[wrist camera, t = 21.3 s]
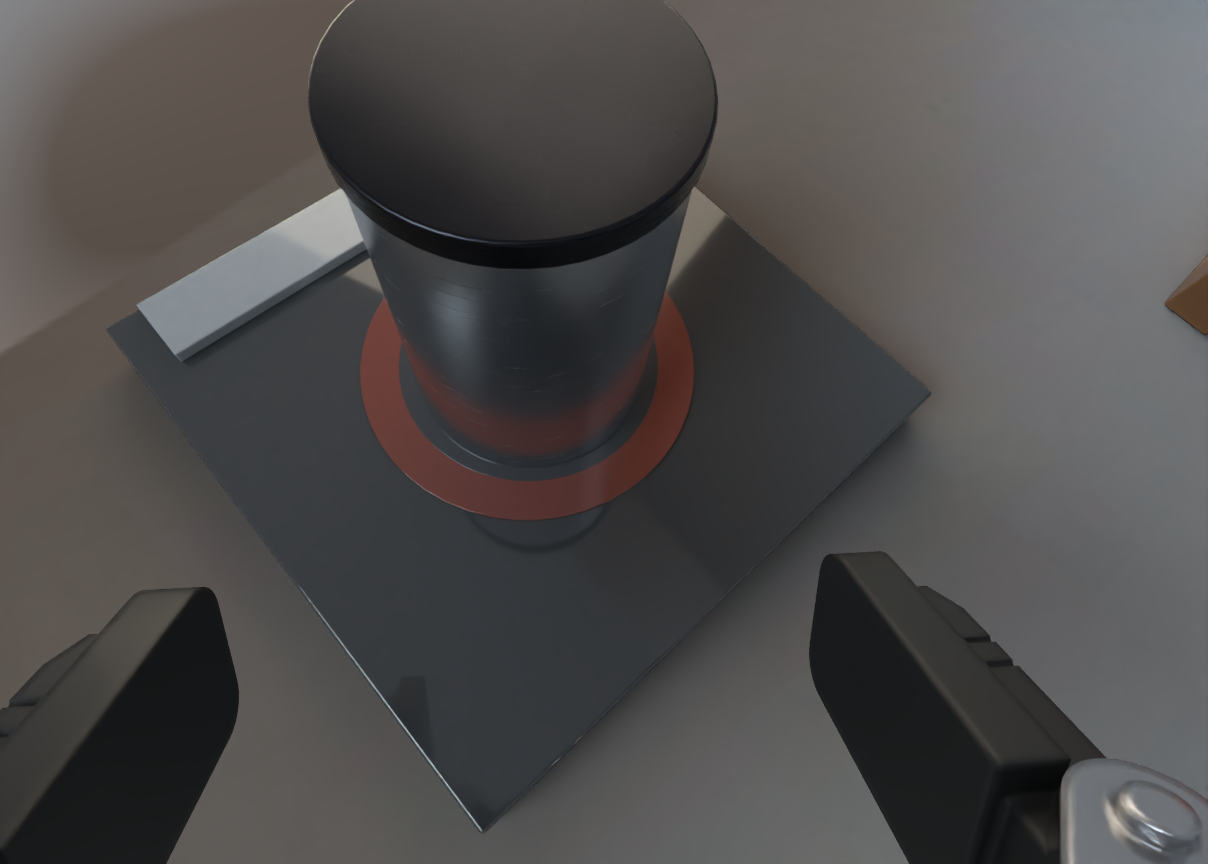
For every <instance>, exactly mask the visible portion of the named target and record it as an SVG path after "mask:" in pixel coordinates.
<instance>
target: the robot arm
mask: <svg viewBox="0 0 1208 864" xmlns="http://www.w3.org/2000/svg"><path fill="white" fill-rule="evenodd" d="M809 658H810V668H811V673H812V677H813V681H814V684H815V687H816V690H817V692H818V694H819V696H820V698H821V700H822V702H823V704H824V706H825V708H826V709H827V711H828V713H829V715H830V717H831V719H832V721H833V722H834V724H835V726H836V728H837V730H838V732H839V734H840V735H841V737H842V739H843V741H844V743H845V745H846V747H847V748H848V750H849V752H850V754H851V756H852V758H853V760H854V762H855V763H856V765H857V767H858V769H859V771H860V773H861V775H862V776H863V778H864V780H865V782H866V784H867V786H868V788H869V789H870V791H871V793H872V795H873V797H874V799H875V801H876V802H877V804H878V806H879V808H880V810H881V812H882V814H883V816H884V817H885V819H886V821H887V823H888V825H889V827H890V829H891V830H892V832H893V834H894V836H895V838H896V840H897V842H898V843H899V845H900V847H901V849H902V851H903V853H904V855H905V857H906V858H907V860H908V862H909V864H1208V800H1207V799H1205V798H1204V797H1203V796H1201V795H1200V794H1198V793H1197V792H1195V791H1194V790H1192V789H1191V788H1189V787H1187V786H1186V785H1184V784H1182V783H1181V782H1179V781H1177V780H1175V779H1173V778H1171V777H1169V776H1167V775H1165V774H1163V773H1160V772H1158V771H1155V770H1153V769H1150V768H1148V767H1145V766H1142V765H1138V764H1135V763H1132V762H1127V761H1122V760H1117V759H1107V758H1106V757H1105V756H1104V755H1103V754H1102V753H1101V752H1100V751H1099V750H1098V749H1097V748H1096V747H1095V745H1094V744H1093V743H1092V742H1091V741H1090V740H1089V739H1088V738H1087V737H1086V736H1085V735H1084V734H1083V733H1082V732H1081V731H1080V730H1079V729H1078V728H1077V727H1076V726H1075V725H1074V724H1073V722H1072V721H1071V720H1070V719H1069V718H1068V717H1067V716H1066V715H1065V714H1064V713H1063V712H1062V711H1061V710H1060V709H1059V708H1058V707H1057V706H1056V705H1055V704H1054V703H1053V702H1052V700H1051V699H1050V698H1049V697H1048V696H1047V695H1046V694H1045V693H1044V692H1043V691H1042V690H1041V689H1040V688H1039V687H1038V686H1037V685H1036V684H1035V683H1034V682H1033V681H1032V680H1031V679H1030V677H1029V676H1028V675H1027V674H1026V673H1025V672H1024V671H1023V670H1022V669H1021V668H1020V667H1019V666H1014V665H1013V662H1012V659H1011V658H1010V657H1009V655H1008V654H1007V653H1006V652H1005V651H1004V650H1003V649H1002V648H1001V647H1000V646H999V645H998V644H997V643H996V642H991V640H990V636H989V635H988V633H987V632H986V631H985V630H984V629H983V628H982V627H981V626H980V625H979V624H978V623H977V622H976V621H975V620H974V619H973V618H972V617H971V616H970V615H969V614H968V613H967V612H966V610H965V609H964V608H962V607H960V606H959V605H957V604H956V603H954V602H952V601H951V600H949V599H947V598H946V597H944V596H942V595H941V594H939V593H937V592H936V591H934V590H932V589H931V588H929V587H928V586H916V585H915V584H914V583H913V581H912V580H911V579H910V578H909V577H908V576H907V575H906V574H905V573H904V571H903V570H902V569H901V568H900V567H899V566H898V565H897V564H896V562H895V561H894V560H893V559H892V558H891V557H890V556H889V555H888V554H886V553H885V552H881V551H879V552H861V553H843V554H829V555H827V556H826V557H825V558H824V559H823V561H822V564H821V568H820V574H819V581H818V588H817V595H816V602H815V610H814V617H813V624H812V631H811V638H810V647H809ZM9 702H10V704H9V707H8V708H2V709H1V710H0V864H166V863H167V861H168V859H169V857H170V855H171V853H172V851H173V849H174V847H175V845H176V843H177V841H178V839H179V837H180V835H181V833H182V831H183V829H184V827H185V825H186V823H187V821H188V819H189V817H190V815H191V813H192V812H193V810H194V808H195V806H196V804H197V802H198V800H199V798H200V796H201V794H202V792H203V790H204V788H205V786H206V784H207V782H208V780H209V778H210V776H211V774H212V772H213V770H214V768H215V766H216V764H217V762H218V760H219V758H220V756H221V754H222V752H223V750H224V748H225V746H226V744H227V742H228V740H229V739H230V736H231V734H232V732H233V729H234V726H235V722H236V718H237V713H238V704H239V689H238V682H237V678H236V674H235V669H234V665H233V661H232V657H231V653H230V649H229V645H228V641H227V637H226V633H225V629H224V625H223V621H222V617H221V613H220V609H219V605H218V601H217V598H216V596H215V594H214V593H213V591H212V590H210V589H209V588H207V587H195V588H176V589H158V590H142V591H139V592H137V593H136V594H134V595H133V596H132V597H131V598H130V599H129V600H128V601H127V603H126V604H125V605H124V606H123V607H122V608H121V609H120V610H119V612H118V613H117V614H116V615H115V616H114V617H113V618H112V619H111V621H110V622H109V623H108V624H107V625H106V626H105V627H104V628H103V630H102V631H101V632H100V633H99V634H90V635H88V636H86V637H85V638H83V639H82V640H80V641H79V642H77V643H75V644H74V645H72V646H71V647H69V648H68V649H66V650H65V651H63V652H62V653H60V654H59V655H57V656H56V657H54V658H53V659H51V660H50V661H48V662H47V663H45V664H44V665H42V667H41V668H40V669H39V670H38V671H37V672H36V673H35V674H34V675H33V676H32V677H31V678H30V679H29V680H28V681H27V682H26V683H25V685H24V686H23V687H22V688H21V689H20V690H19V691H18V692H17V693H16V694H15V695H14V696H13V697H12V698H11V699H10V700H9Z"/></svg>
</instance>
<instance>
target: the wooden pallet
mask: <svg viewBox="0 0 1208 864" xmlns="http://www.w3.org/2000/svg"><path fill="white" fill-rule="evenodd" d="M1165 305H1166V306H1167V307H1168V308H1170V309H1171V310H1172V311H1174V312H1175V313H1176V314H1178V315H1179V316H1180V317H1181V318H1183V319H1184V320H1185V321H1187V322H1188V323H1189V324H1191V325H1192V326H1193V327H1195V328H1196V329H1197V330H1199V331H1200V332H1201V333H1203V334H1204V335H1207V334H1208V256H1207V257H1206V258H1205V259H1204V260H1203V261H1202V262H1201V263H1200V264H1199V266H1198V267H1197V268H1196V269H1195V270H1194V271H1193V272H1192V273H1191V274H1190V276H1189V277H1188V278H1187V279H1186V280H1185V281H1184V282H1183V283H1182V284H1181V286H1180V287H1179V288H1178V289H1177V290H1176V291H1175V292H1174V293H1173V294H1172V296H1171V297H1170V298H1169V299H1168V300H1167V301H1166V302H1165Z"/></svg>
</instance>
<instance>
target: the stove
mask: <svg viewBox="0 0 1208 864" xmlns="http://www.w3.org/2000/svg"><path fill="white" fill-rule="evenodd" d="M137 307H138V308H139V310H138V311H136V312H134V313H133V314H131V315H129V316H127V317H126V318H124V319H122V320H120V321H119V322H117V323H115V324H113V325H112V326H110V327H108V328H107V332H108V334H109V335H110V336H111V338H112V339H113V340H114V342H115V343H116V344H117V346H118V347H119V348H120V350H121V351H122V352H123V354H124V355H125V356H126V358H127V359H128V361H129V362H130V363H131V365H132V366H133V367H134V369H135V370H136V371H137V373H138V374H139V375H140V377H141V378H142V379H143V381H144V382H145V383H146V385H147V386H148V387H149V389H150V390H151V391H152V393H153V394H154V395H155V397H156V398H157V399H158V401H159V402H160V404H161V405H162V406H163V408H164V409H165V410H166V412H167V413H168V414H169V416H170V417H171V418H172V420H173V421H174V422H175V424H176V425H177V426H178V428H179V429H180V430H181V432H182V433H183V434H184V436H185V437H186V438H187V440H188V441H189V442H190V444H191V445H192V447H193V448H194V449H195V451H196V452H197V453H198V455H199V456H200V457H201V459H202V460H203V461H204V463H205V464H206V465H207V467H208V468H209V469H210V471H211V472H212V473H213V475H214V476H215V477H216V479H217V480H218V481H219V483H220V484H221V486H222V487H223V488H224V490H225V491H226V492H227V494H228V495H229V496H230V498H231V499H232V500H233V502H234V503H235V504H236V506H237V507H238V508H239V510H240V511H241V512H242V514H243V515H244V516H245V518H246V519H247V520H248V522H249V523H250V524H251V526H252V527H253V529H254V530H255V531H256V533H257V534H258V535H259V537H260V538H261V539H262V541H263V542H264V543H265V545H266V546H267V547H268V549H269V550H270V551H271V553H272V554H273V555H274V557H275V558H276V559H277V561H278V562H279V563H280V565H281V566H282V567H283V569H284V570H285V572H286V573H287V574H288V576H289V577H290V578H291V580H292V581H293V582H294V584H295V585H296V586H297V588H298V589H299V590H300V592H301V593H302V594H303V596H304V597H305V598H306V600H307V601H308V602H309V604H310V605H311V606H312V608H313V609H314V610H315V612H316V613H317V615H318V616H319V617H320V619H321V620H322V621H323V623H324V624H325V625H326V627H327V628H328V629H329V631H330V632H331V633H332V635H333V636H334V637H335V639H336V640H337V641H338V643H339V644H340V645H341V647H342V648H343V649H344V651H345V652H346V653H347V655H348V656H349V658H350V659H351V660H352V662H353V663H354V664H355V666H356V667H357V668H358V670H359V671H360V672H361V674H362V675H363V676H364V678H365V679H366V680H367V682H368V683H369V684H370V686H371V687H372V688H373V690H374V691H375V692H376V694H377V695H378V696H379V698H380V699H381V701H382V702H383V703H384V705H385V706H386V707H387V709H388V710H389V711H390V713H391V714H392V715H393V717H394V718H395V719H396V721H397V722H398V723H399V725H400V726H401V727H402V729H403V730H404V731H405V733H406V734H407V735H408V737H409V738H410V739H411V741H412V742H413V744H414V745H415V746H416V748H417V749H418V750H419V752H420V753H421V754H422V756H423V757H424V758H425V760H426V761H427V762H428V764H429V765H430V766H431V768H432V769H433V770H434V772H435V773H436V774H437V776H438V777H439V778H440V780H441V781H442V782H443V784H444V785H445V787H446V788H447V789H448V791H449V792H450V793H451V795H452V796H453V797H454V799H455V800H456V801H457V803H458V804H459V805H460V807H461V808H462V809H463V811H464V812H465V813H466V815H467V816H468V817H469V819H470V820H471V821H472V823H473V824H474V826H475V827H476V828H477V830H478V831H479V832H480V833H482V834H483V833H486V832H487V831H488V830H489V829H490V828H491V827H492V826H493V825H494V824H495V823H496V822H497V821H498V820H499V819H500V818H501V817H502V816H503V815H504V814H505V813H506V812H507V811H508V810H509V809H510V808H511V807H512V806H513V805H514V804H515V803H516V802H517V801H518V800H519V799H520V798H521V797H522V796H523V795H524V794H525V793H526V792H527V791H528V790H529V789H530V788H531V787H532V786H533V785H534V784H535V783H536V782H537V781H539V780H540V779H541V778H542V777H543V776H544V775H545V774H546V773H547V772H548V771H549V770H550V769H551V768H552V767H553V766H554V765H555V764H556V763H557V762H558V761H559V760H560V759H561V758H562V757H563V756H564V755H565V754H566V753H567V752H568V751H569V750H570V749H571V748H572V747H573V746H574V745H575V744H576V743H577V742H578V741H579V740H580V739H581V738H582V737H583V736H584V735H585V734H586V733H587V732H588V731H589V730H590V729H591V728H592V727H593V726H594V725H596V724H597V723H598V722H599V721H600V720H601V719H602V718H603V717H604V716H605V715H606V714H607V713H608V712H609V711H610V710H611V709H612V708H613V707H614V706H615V705H616V704H617V703H618V702H619V701H620V700H621V699H622V698H623V697H624V696H625V695H626V694H627V693H628V692H629V691H630V690H631V689H632V688H633V687H634V686H635V685H636V684H637V683H638V682H639V681H640V680H641V679H642V678H643V677H644V676H645V675H646V674H647V673H648V672H649V671H650V670H652V669H653V668H654V667H655V666H656V665H657V664H658V663H659V662H660V661H661V660H662V659H663V658H664V657H665V656H666V655H667V654H668V653H669V652H670V651H671V650H672V649H673V648H674V647H675V646H676V645H677V644H678V643H679V642H680V641H681V640H682V639H683V638H684V637H685V636H686V635H687V634H688V633H689V632H690V631H691V630H692V629H693V628H694V627H695V626H696V625H697V624H698V623H699V622H700V621H701V620H702V619H703V618H704V617H705V616H706V615H707V614H709V613H710V612H711V611H712V610H713V609H714V608H715V607H716V606H717V605H718V604H719V603H720V602H721V601H722V600H723V599H724V598H725V597H726V596H727V595H728V594H729V593H730V592H731V591H732V590H733V589H734V588H735V587H736V586H737V585H738V584H739V583H740V582H741V581H742V580H743V579H744V578H745V577H746V576H747V575H748V574H749V573H750V572H751V571H752V570H753V569H754V568H755V567H756V566H757V565H758V564H759V563H760V562H761V561H762V560H763V559H764V558H766V557H767V556H768V555H769V554H770V553H771V552H772V551H773V550H774V549H775V548H776V547H777V546H778V545H779V544H780V543H781V542H782V541H783V540H784V539H785V538H786V537H787V536H788V535H789V534H790V533H791V532H792V531H793V530H794V529H795V528H796V527H797V526H798V525H799V524H800V523H801V522H802V521H803V520H804V519H805V518H806V517H807V516H808V515H809V514H810V513H811V512H812V511H813V510H814V509H815V508H816V507H817V506H818V505H819V504H820V503H822V502H823V501H824V500H825V499H826V498H827V497H828V496H829V495H830V494H831V493H832V492H833V491H834V490H835V489H836V488H837V487H838V486H839V485H840V484H841V483H842V482H843V481H844V480H845V479H846V478H847V477H848V476H849V475H850V474H851V473H852V472H853V471H854V470H855V469H856V468H857V467H858V466H859V465H860V464H861V463H862V462H863V461H864V460H865V459H866V458H867V457H868V456H869V455H870V454H871V453H872V452H873V451H874V450H875V449H876V448H877V447H879V446H880V445H881V444H882V443H883V442H884V441H885V440H886V439H887V438H888V437H889V436H890V435H891V434H892V433H893V432H894V431H895V430H896V429H897V428H898V427H899V426H900V425H901V424H902V423H903V422H904V421H905V420H906V419H907V418H908V417H909V416H910V415H911V414H912V413H913V412H914V411H915V410H916V409H917V408H918V407H919V406H920V405H921V404H922V403H923V402H924V401H925V400H926V399H927V398H928V397H929V396H930V395H931V392H930V390H928V389H927V388H926V387H925V386H924V385H923V384H922V383H920V382H919V381H918V380H917V379H916V378H915V377H913V376H912V375H911V374H910V373H909V372H908V371H907V370H905V369H904V368H903V367H902V366H901V365H900V364H899V363H897V362H896V361H895V360H894V359H893V358H892V357H891V356H889V355H888V354H887V353H886V352H885V351H884V350H883V349H881V348H880V347H879V346H878V345H877V344H876V343H875V342H873V341H872V340H871V339H870V338H869V337H868V336H866V335H865V334H864V333H863V332H862V331H861V330H860V329H858V328H857V327H856V326H855V325H854V324H853V323H852V322H850V321H849V320H848V319H847V318H846V317H845V316H844V315H842V314H841V313H840V312H839V311H838V310H837V309H836V308H834V307H833V306H832V305H831V304H830V303H829V302H828V301H826V300H825V299H824V298H823V297H822V296H821V295H819V294H818V293H817V292H816V291H815V290H814V289H813V288H811V287H810V286H809V285H808V284H807V283H806V282H805V281H803V280H802V279H801V278H800V277H799V276H798V275H797V274H795V273H794V272H793V271H792V270H791V269H790V268H789V267H787V266H786V265H785V264H784V263H783V262H782V261H781V260H779V259H778V258H777V257H776V256H775V255H774V254H773V253H771V252H770V251H769V250H768V249H767V248H766V247H764V246H763V245H762V244H761V243H760V242H759V241H758V240H756V239H755V238H754V237H753V236H752V235H751V234H750V233H748V232H747V231H746V230H745V229H744V228H743V227H742V226H740V225H739V224H738V223H737V222H736V221H735V220H734V219H732V218H731V217H730V216H729V215H728V214H727V213H726V212H724V211H723V210H722V209H721V208H720V207H719V206H717V205H716V204H715V203H714V202H713V201H712V200H711V199H709V198H708V197H707V196H706V195H705V194H704V193H703V192H701V191H700V190H699V189H698V188H697V187H696V186H694V188H693V189H692V193H691V196H690V200H689V204H688V208H687V211H686V215H685V219H684V223H683V226H682V230H681V234H680V238H679V242H678V245H677V249H676V253H675V257H674V260H673V264H672V268H671V272H670V275H669V279H668V283H667V287H666V290H665V294H664V298H663V302H662V306H661V309H660V313H659V317H658V321H657V324H656V328H655V332H654V336H653V339H652V343H651V347H650V351H649V355H648V358H647V362H646V366H645V370H644V373H643V377H642V381H641V385H640V388H639V392H638V396H637V398H636V401H635V403H634V406H633V408H632V410H631V411H630V413H629V415H628V416H627V418H626V420H625V421H624V422H623V423H622V425H621V426H620V427H619V428H618V430H617V431H616V432H615V433H614V434H613V435H611V436H610V437H609V438H608V439H607V440H606V441H605V442H603V443H602V444H600V445H599V446H598V447H596V448H595V449H593V450H591V451H589V452H587V453H586V454H584V455H582V456H579V457H577V458H574V459H571V460H569V461H566V462H562V463H557V464H553V465H546V466H537V467H531V466H514V465H507V464H502V463H498V462H495V461H491V460H488V459H486V458H483V457H481V456H478V455H476V454H474V453H472V452H471V451H469V450H467V449H465V448H464V447H462V446H461V445H459V444H458V443H457V442H456V441H454V440H453V439H452V438H451V437H450V436H449V435H448V434H446V433H445V432H444V431H443V430H442V429H441V427H440V426H439V425H438V423H437V422H436V421H435V419H434V418H433V416H432V415H431V413H430V411H429V409H428V407H427V406H426V403H425V401H424V398H423V395H422V393H421V390H420V387H419V385H418V382H417V380H416V377H415V374H414V372H413V369H412V366H411V364H410V361H409V359H408V356H407V353H406V351H405V348H404V345H403V343H402V340H401V338H400V335H399V332H398V330H397V327H396V325H395V322H394V319H393V317H392V314H391V311H390V309H389V306H388V304H387V301H386V298H385V296H384V293H383V290H382V288H381V285H380V283H379V280H378V277H377V275H376V272H375V269H374V267H373V264H372V262H371V259H370V256H369V254H368V251H367V249H366V246H365V243H364V241H363V238H362V235H361V233H360V230H359V228H358V225H357V222H356V220H355V217H354V214H353V212H352V209H351V207H350V204H349V201H348V199H347V196H346V194H345V193H344V191H343V190H342V189H341V188H340V189H339V190H337V191H335V192H333V193H332V194H330V195H328V196H326V197H325V198H323V199H321V200H319V201H318V202H316V203H314V204H312V205H311V206H309V207H307V208H305V209H303V210H302V211H300V212H298V213H296V214H295V215H293V216H291V217H289V218H288V219H286V220H284V221H282V222H281V223H279V224H277V225H275V226H274V227H272V228H270V229H268V230H267V231H265V232H263V233H261V234H260V235H258V236H256V237H254V238H253V239H251V240H249V241H247V242H245V243H244V244H242V245H240V246H238V247H237V248H235V249H233V250H231V251H230V252H228V253H226V254H224V255H223V256H221V257H219V258H217V259H216V260H214V261H212V262H210V263H209V264H207V265H205V266H203V267H202V268H200V269H198V270H196V271H195V272H193V273H191V274H189V275H187V276H186V277H184V278H182V279H180V280H179V281H177V282H175V283H173V284H172V285H170V286H168V287H166V288H165V289H163V290H161V291H159V292H158V293H156V294H154V295H152V296H151V297H149V298H147V299H145V300H144V301H142V302H140V303H138V304H137Z"/></svg>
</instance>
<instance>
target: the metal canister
mask: <svg viewBox="0 0 1208 864" xmlns="http://www.w3.org/2000/svg"><path fill="white" fill-rule="evenodd" d="M308 107H309V112H310V119H311V123H312V126H313V129H314V132H315V135H316V137H317V140H318V143H319V145H320V148H321V150H322V153H323V156H324V158H325V161H326V163H327V166H328V168H329V169H330V171H331V173H332V175H333V176H334V178H335V180H336V182H337V183H338V185H339V186H340V188H341V189H342V190H343V191H344V193H345V194H346V196H347V199H348V201H349V204H350V207H351V209H352V212H353V214H354V217H355V220H356V222H357V225H358V228H359V230H360V233H361V235H362V238H363V241H364V243H365V246H366V249H367V251H368V254H369V256H370V259H371V262H372V264H373V267H374V269H375V272H376V275H377V277H378V280H379V283H380V285H381V288H382V290H383V293H384V296H385V298H386V301H387V304H388V306H389V309H390V311H391V314H392V317H393V319H394V322H395V325H396V327H397V330H398V332H399V335H400V338H401V340H402V343H403V345H404V348H405V351H406V353H407V356H408V359H409V361H410V364H411V366H412V369H413V372H414V374H415V377H416V380H417V382H418V385H419V387H420V390H421V393H422V395H423V398H424V401H425V403H426V406H427V407H428V409H429V411H430V413H431V415H432V416H433V418H434V419H435V421H436V422H437V423H438V425H439V426H440V427H441V429H442V430H443V431H444V432H445V433H446V434H448V435H449V436H450V437H451V438H452V439H453V440H454V441H456V442H457V443H458V444H459V445H461V446H462V447H464V448H465V449H467V450H469V451H471V452H472V453H474V454H476V455H478V456H481V457H483V458H486V459H488V460H491V461H495V462H498V463H502V464H507V465H514V466H531V467H537V466H546V465H553V464H557V463H562V462H566V461H569V460H571V459H574V458H577V457H579V456H582V455H584V454H586V453H587V452H589V451H591V450H593V449H595V448H596V447H598V446H599V445H600V444H602V443H603V442H605V441H606V440H607V439H608V438H609V437H610V436H611V435H613V434H614V433H615V432H616V431H617V430H618V428H619V427H620V426H621V425H622V423H623V422H624V421H625V420H626V418H627V416H628V415H629V413H630V411H631V410H632V408H633V406H634V403H635V401H636V398H637V396H638V392H639V388H640V385H641V381H642V377H643V373H644V370H645V366H646V362H647V358H648V355H649V351H650V347H651V343H652V339H653V336H654V332H655V328H656V324H657V321H658V317H659V313H660V309H661V306H662V302H663V298H664V294H665V290H666V287H667V283H668V279H669V275H670V272H671V268H672V264H673V260H674V257H675V253H676V249H677V245H678V242H679V238H680V234H681V230H682V226H683V223H684V219H685V215H686V211H687V208H688V204H689V200H690V196H691V193H692V189H693V188H694V186H695V185H696V183H697V182H698V180H699V177H700V175H701V173H702V171H703V168H704V166H705V164H706V161H707V157H708V154H709V150H710V147H711V143H712V139H713V135H714V131H715V127H716V123H717V114H718V95H717V86H716V80H715V77H714V73H713V70H712V66H711V63H710V60H709V58H708V56H707V54H706V52H705V50H704V48H703V45H702V44H701V42H700V41H699V39H698V38H697V36H696V35H695V33H694V32H693V30H692V29H691V27H690V26H689V25H688V24H687V23H686V22H685V21H684V19H683V18H682V17H681V16H680V15H679V14H678V13H677V12H676V11H675V10H674V9H673V8H672V7H671V6H670V5H668V4H667V3H666V2H665V1H664V0H353V1H352V2H351V3H349V4H348V5H347V6H346V7H345V8H344V9H343V10H342V11H341V13H340V14H339V15H338V16H337V17H336V19H335V20H334V21H333V22H332V23H331V24H330V26H329V28H328V30H327V31H326V33H325V34H324V36H323V38H322V39H321V41H320V43H319V46H318V48H317V50H316V53H315V55H314V58H313V61H312V65H311V70H310V75H309V80H308Z"/></svg>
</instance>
